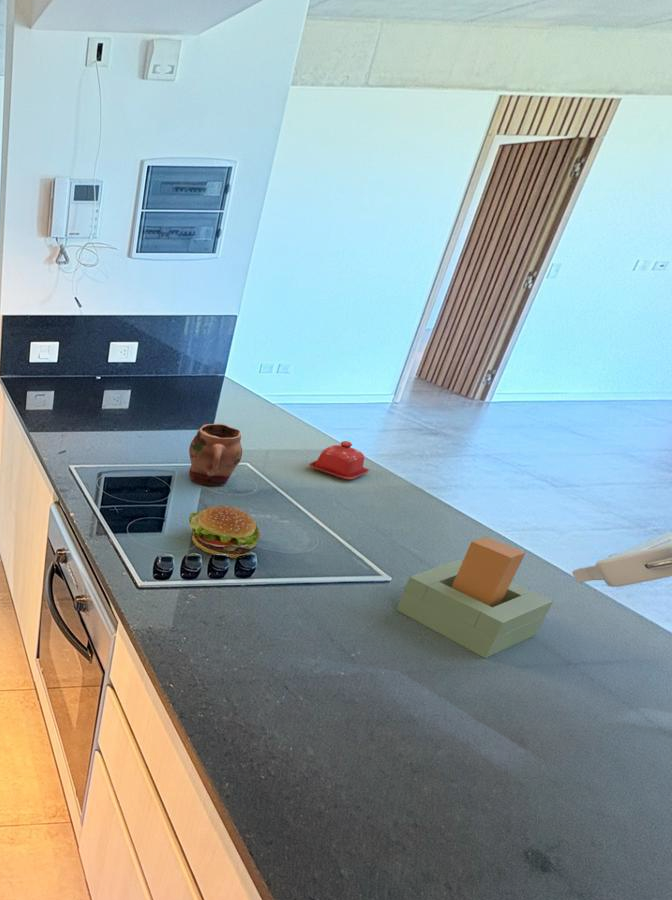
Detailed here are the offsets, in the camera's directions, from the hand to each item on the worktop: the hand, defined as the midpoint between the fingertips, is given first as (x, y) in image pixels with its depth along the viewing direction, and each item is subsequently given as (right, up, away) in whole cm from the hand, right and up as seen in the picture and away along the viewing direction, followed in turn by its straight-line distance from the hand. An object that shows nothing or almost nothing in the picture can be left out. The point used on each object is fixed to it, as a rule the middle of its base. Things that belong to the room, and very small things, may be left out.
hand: (594, 568), depth 88 cm
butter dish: (+10, +18, +75) cm, 78 cm away
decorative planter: (-26, +15, +69) cm, 75 cm away
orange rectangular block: (-5, -7, +15) cm, 17 cm away
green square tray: (-5, -11, +17) cm, 21 cm away
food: (-36, +1, +41) cm, 54 cm away
